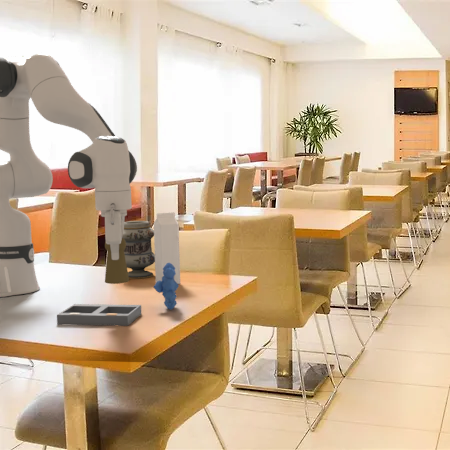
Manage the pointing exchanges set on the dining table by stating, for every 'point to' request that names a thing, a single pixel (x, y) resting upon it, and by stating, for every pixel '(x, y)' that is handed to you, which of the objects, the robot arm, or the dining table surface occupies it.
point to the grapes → (168, 286)
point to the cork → (116, 266)
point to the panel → (99, 314)
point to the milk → (166, 244)
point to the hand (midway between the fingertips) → (115, 257)
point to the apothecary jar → (138, 248)
